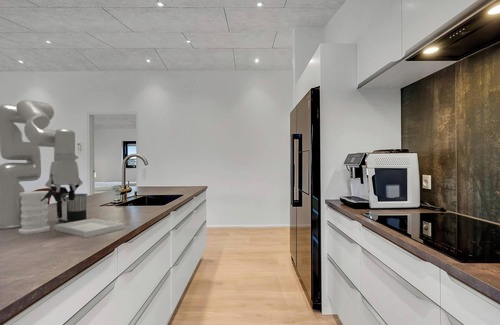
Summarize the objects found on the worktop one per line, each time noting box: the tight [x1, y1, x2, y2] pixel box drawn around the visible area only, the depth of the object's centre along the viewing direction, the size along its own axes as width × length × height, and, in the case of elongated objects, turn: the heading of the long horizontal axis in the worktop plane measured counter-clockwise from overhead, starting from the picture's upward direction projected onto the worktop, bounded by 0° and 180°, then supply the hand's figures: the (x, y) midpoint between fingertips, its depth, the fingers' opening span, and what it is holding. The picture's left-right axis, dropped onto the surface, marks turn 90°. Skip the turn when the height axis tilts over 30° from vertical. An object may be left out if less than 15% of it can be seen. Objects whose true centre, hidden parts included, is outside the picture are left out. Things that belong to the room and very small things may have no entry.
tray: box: [54, 218, 126, 239], centre depth 131 cm, size 26×18×2 cm
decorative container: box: [18, 190, 51, 235], centre depth 129 cm, size 12×12×18 cm
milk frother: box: [56, 193, 88, 224], centre depth 146 cm, size 14×16×15 cm
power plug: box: [41, 186, 69, 203], centre depth 122 cm, size 6×8×12 cm
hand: (64, 200), depth 120 cm, fingers closed on power plug, 4 cm apart
